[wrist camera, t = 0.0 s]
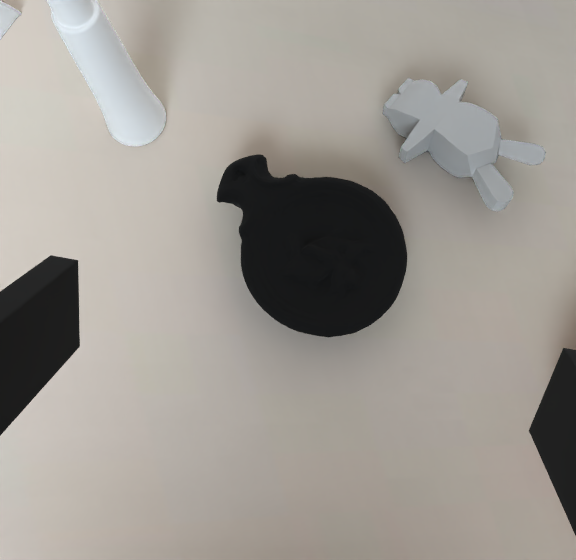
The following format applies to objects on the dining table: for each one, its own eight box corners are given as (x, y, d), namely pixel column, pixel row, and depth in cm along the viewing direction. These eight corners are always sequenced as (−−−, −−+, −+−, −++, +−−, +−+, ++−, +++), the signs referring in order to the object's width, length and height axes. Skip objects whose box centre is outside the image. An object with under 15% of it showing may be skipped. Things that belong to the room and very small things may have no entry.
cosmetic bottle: (97, 108, 56) (-26, -72, 34) (151, 83, 56) (63, -110, 35) (121, 157, 55) (10, 3, 33) (176, 130, 55) (102, -38, 34)
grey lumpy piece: (428, 46, 52) (566, 131, 49) (420, 80, 57) (545, 159, 53) (366, 115, 51) (503, 208, 47) (364, 144, 56) (488, 229, 52)
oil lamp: (291, 129, 55) (291, 103, 50) (432, 265, 52) (447, 252, 47) (180, 227, 53) (169, 210, 48) (320, 374, 50) (324, 372, 45)
